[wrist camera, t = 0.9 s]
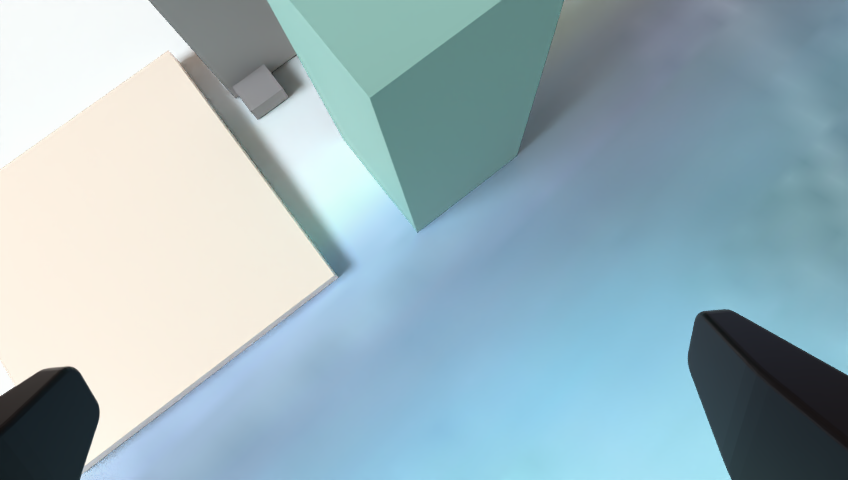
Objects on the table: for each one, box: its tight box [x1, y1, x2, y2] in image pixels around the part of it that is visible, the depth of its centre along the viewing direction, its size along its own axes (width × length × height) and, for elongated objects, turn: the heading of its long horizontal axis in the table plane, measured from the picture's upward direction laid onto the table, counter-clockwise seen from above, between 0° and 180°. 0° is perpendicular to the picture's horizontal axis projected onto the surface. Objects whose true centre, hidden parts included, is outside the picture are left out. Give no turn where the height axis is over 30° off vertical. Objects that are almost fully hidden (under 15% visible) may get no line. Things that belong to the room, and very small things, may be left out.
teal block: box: [267, 0, 564, 233], centre depth 17 cm, size 5×5×12 cm
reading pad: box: [0, 51, 339, 474], centre depth 22 cm, size 12×12×1 cm
